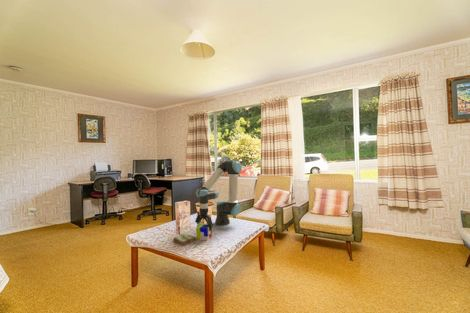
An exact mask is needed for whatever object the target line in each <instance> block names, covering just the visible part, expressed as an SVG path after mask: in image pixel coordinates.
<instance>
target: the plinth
mask: <svg viewBox="0 0 470 313" xmlns="http://www.w3.org/2000/svg"><path fill="white" fill-rule="evenodd" d="M172 239H173V242H174V243H176V244H178V245H179V246H185V245H187V244H191V243H193V242H195V241H196V240H197V239H196V237H195V236H193V235H191V234H188V233H184V234H181V235H178V236H175V237H174V238H172Z"/></svg>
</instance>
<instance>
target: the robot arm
mask: <svg viewBox="0 0 470 313" xmlns="http://www.w3.org/2000/svg"><path fill="white" fill-rule="evenodd" d="M242 171H243V170H242V164H241V162H239V160H238V161H237V160H224V161H222V162H221V163H220V164H219V165H218V166H217V167H216V168H215V171H214V172H213V173H212V174H211V176H210V177H209V178H208V180H206V181H205V183H204V184H203V186H202V187H201V188H198V189H196V191H195V196H196V197H197V198H199V212H197V214H196V219H195V221H194V222H195V223H196V228H197V227H198V226H199V225H200V224H201V221H202V220H204V221H205V222H206V224H208V235H209V234H211V226H212V227H214V224H213V220H212V217H211V214H208V213H209V201H211V200H215V199H218V198H219V192H218V191H217V190H216V189H213V190H211V189H212V188H213V187H214V186H215V184H216V183H217V182H218V181H219V179H220V178H221V176H224V174H225V173H227V176H228V200H226V199H225V200H219V201H217V202H216V205H215V206H216V218H215V221H214V223H215V225H216V226H227V225H230V223H231V221H230V219H229V218H230V217H229V216H232V217H233V216H234V217H236V216H238V215H239V214H240V213H241V210H242V208H241V205H240V204H239V200H238V181H239V180H238V179H239V178H238V176H240V174H241V172H242Z"/></svg>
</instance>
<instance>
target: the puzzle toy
mask: <svg viewBox="0 0 470 313" xmlns="http://www.w3.org/2000/svg"><path fill="white" fill-rule="evenodd" d="M212 227H213V226H211V234H209V235H208V224H207V223H206V224H205V223H200V225H199V226H198V227H197V226H196V228H195V230H196V232H195V233H196V234H195V235H196V240H199V241H200V240H201V241H209V239H210V238H211V237H212V235H213V234H212V233H213V231H212Z"/></svg>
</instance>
